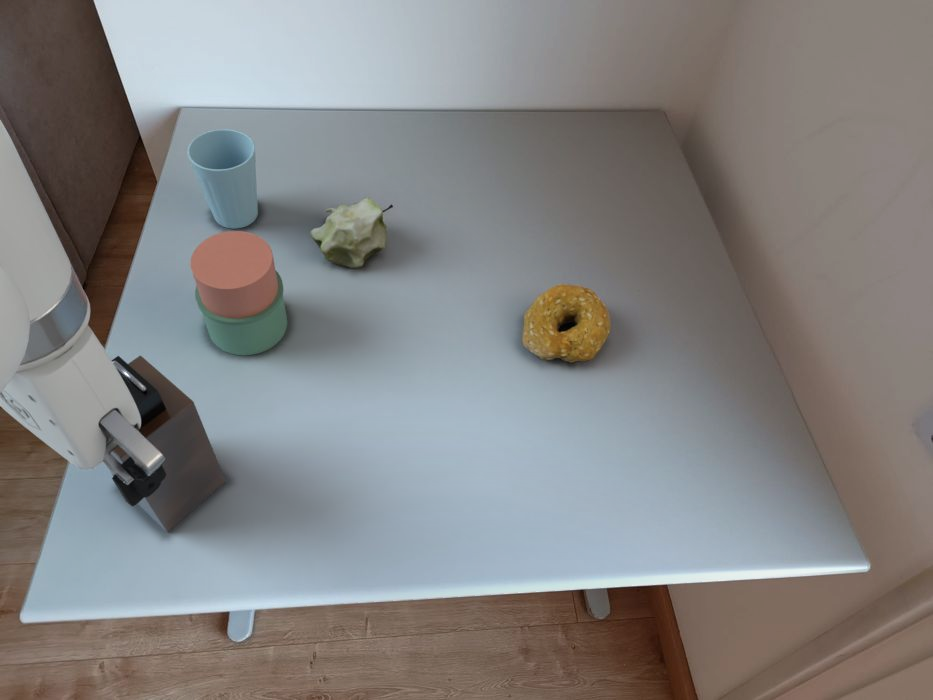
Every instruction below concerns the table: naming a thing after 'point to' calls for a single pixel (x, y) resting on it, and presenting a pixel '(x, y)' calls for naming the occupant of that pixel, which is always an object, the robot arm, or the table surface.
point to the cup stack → (239, 292)
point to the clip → (140, 392)
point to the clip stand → (176, 453)
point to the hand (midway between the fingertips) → (102, 454)
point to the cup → (226, 175)
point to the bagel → (564, 308)
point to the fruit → (352, 233)
